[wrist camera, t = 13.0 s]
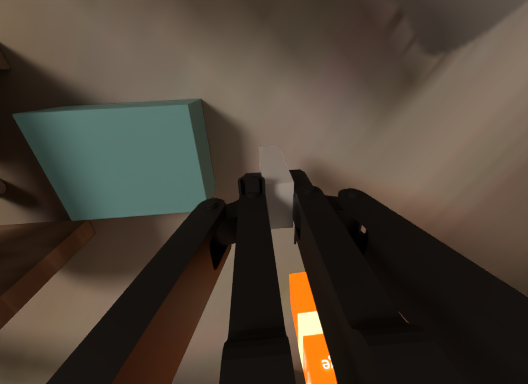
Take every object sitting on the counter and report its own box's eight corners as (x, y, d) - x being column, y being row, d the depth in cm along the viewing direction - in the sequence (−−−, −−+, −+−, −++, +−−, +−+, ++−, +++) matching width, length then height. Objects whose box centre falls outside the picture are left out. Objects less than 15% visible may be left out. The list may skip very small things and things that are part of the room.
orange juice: (344, 300, 35) (442, 523, 17) (290, 306, 35) (335, 539, 17) (348, 265, 31) (478, 504, 14) (288, 273, 31) (343, 524, 14)
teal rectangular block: (200, 98, 20) (187, 104, 15) (215, 186, 24) (208, 210, 20) (65, 105, 19) (11, 113, 15) (104, 194, 23) (72, 221, 19)
